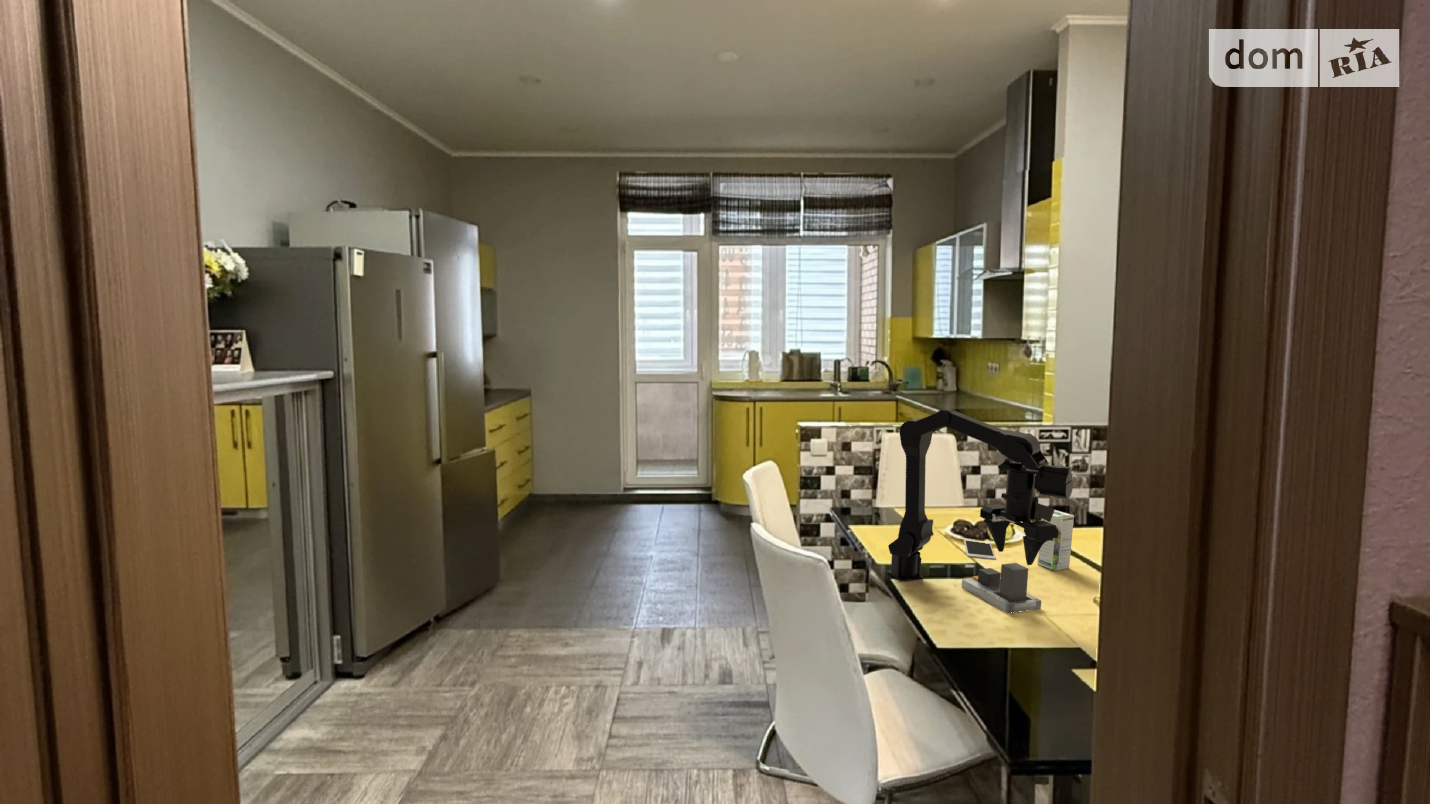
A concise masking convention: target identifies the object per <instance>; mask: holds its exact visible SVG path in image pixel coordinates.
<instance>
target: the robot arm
mask: <svg viewBox="0 0 1430 804" xmlns="http://www.w3.org/2000/svg"><path fill="white" fill-rule="evenodd" d="M944 428H948V429H950V430H952V431H954V432H958V433H960V434H963V435H965V436H967V437H970V438H973V439H975V440H977V441H979V442H982V443H984V444H986V445H988V446H989V445H990V446H991V447H992V448H994V449H995V450H996V451H997V452H999V454H1001V455H1002V456H1004V457H1006V459H1005V460H1004V461H1003V462H1002V463H1000V464H998V465H997V469H1001V470H1007V475H1006V485H1005V487H1006V488H1005V492H1003V493H1001V499H1005V503H1004V505H1003V504H1001V503H993V504H983V506H982V507H981V508H980V513H979V518H981V519H983V522H984V523H985V525H986V526H987V528H988V530H989V533H990V534H991V537H992V539H993V541H994V544H995V547H996V549H997V551H998V552H999V553H1002V552H1004V550H1005V545H1006V544H1005V543H1006V537H1007V529H1008V527H1009V526H1010V525H1011V524H1013V525H1015V526H1017V527H1020V528H1023V532H1024V535H1022V541H1023V542H1022V543H1023V548H1024V556H1025V557H1024V558H1025V561H1026V565H1027V566H1032V565H1033V563H1034V562H1035V560H1036V558H1037V557H1038V553H1039V550H1040V548H1041V547H1042V545H1043V544H1044V543H1045V542H1046V541H1050V540H1052V539H1054V538H1058V528H1057V526H1056V525H1054V524H1051V523H1048V522H1050V521H1051V519H1052V516H1053V513H1054V511H1055V510H1056V509H1055V508H1053V507H1050V506H1046V505H1044V504H1041V503H1039V497H1038V496H1036V495H1034V492H1035V489H1036V492H1038V493H1039V494H1040V495H1042V496H1050V497H1055V498H1061V499H1066V500H1069V499H1070V497H1071V496H1072V493H1073V488H1074V480H1073V473H1072V467H1071V466H1065V465H1064V466H1059V465H1053V464H1050V462H1049V461H1048V459H1047V457H1046V456H1045V455H1044V453H1043V451H1042V450H1041V445H1040V442H1039V440H1038V438H1037V437H1036V436H1035V435H1033V434H1031V433H1027V432H1026V433H1025V432H1021V431H1016V430H1009V429H1003V428H1000V427H997V426H994V425H991V424H989V423H986V422H984V421H981V420H979V419H976V418H974V417H972V416H969V415H967V414H965V413H962V412H961V413H960V411H956V410H955V409H954V408H951V407H948V408H944V409H940V410H938V411H937V412H935V413H933V414H931V415H928V416H926V417H919V418H915V419H914V418H913V419H910V420H907V421H904V422H903V423H902V424H901V425H900V427H899V431H898V432H899V437H900V438H899V439H900V440H899V441H900V445H901V448H902V449H903V452H904V454H905V492H904V493H905V499H904V500H905V502H904V503H905V504H904V505H905V509H904V511H905V512H904V514H903V517H902V520H901V522H900V525H899V529H898V535H897V538H896V539H895V540H893V541H892V542H890V543H889V544H888V545H887V547H888V551H889V553H890V555H891V565H890V569H888V570H886V571H887V574H889V575H890V576H892V577H894V578H896V579H897V580H899V581H903V582H904V581H912V580H921V579H923V578H924V577H923V576H924V575H921V570H922V569H921V568H922V557H921V552H920V551H922V550H923V548H924V546H926V545H927V544H928V543H929V542H930V540H931V539H932V536H934V535H935V534H934V532H933V531H934V530H933V526H934V519H932V518H931V519H929V518H928V516H927V514H926V510H925V509H926V462H927V461H926V459H927V453H928V451H929V448H930V446H931V443H932V437H933V433H935V432H938V431H940V430H942V429H944ZM1041 518H1042V519H1045V520H1047V521H1048V522H1046V521H1041ZM1039 520H1040V521H1039Z"/></svg>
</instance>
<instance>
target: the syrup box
mask: <svg viewBox="0 0 1430 804" xmlns="http://www.w3.org/2000/svg"><path fill="white" fill-rule="evenodd" d="M1074 518H1075V514H1070V513H1067V512H1063V511H1060V510H1058V509H1057V510H1056V509H1055V511H1054V513H1053V516H1052V519H1051V521H1050V522H1048V521H1047V520H1045V519H1042V518H1041V519H1040V521H1046V522H1048V523H1051V524H1054V525H1056V526H1057V528H1058V538H1054V539H1052V540H1050V541H1046V542H1045V543H1044V544H1043V545H1042V547H1041V548H1040V550H1039V552H1038V554H1037V565H1038V566H1042V567H1045V568H1046V569H1049V570H1051V571H1054V572H1057V571H1062V570H1066V569H1067V570H1068V569H1069V568H1070V562H1071V552H1072V542H1073V531H1074V530H1073V529H1074Z"/></svg>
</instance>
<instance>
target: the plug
mask: <svg viewBox="0 0 1430 804" xmlns="http://www.w3.org/2000/svg"><path fill="white" fill-rule="evenodd" d="M1000 565H1001V567H1000V573H1001V577H1000V593H999V596H1000V597H1002V598H1004V599H1005V600H1007V601H1009V602H1011V603H1012V602H1019V601H1026V594H1027V593H1028V590H1027V589H1028V579H1029V568H1028V567H1026V566H1023V565H1022V564H1020V563H1017V562H1010V563H1009V562H1008V563H1002V564H1000Z"/></svg>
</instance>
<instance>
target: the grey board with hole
mask: <svg viewBox="0 0 1430 804" xmlns="http://www.w3.org/2000/svg"><path fill="white" fill-rule="evenodd" d="M977 572H978V573H977V575H974V576H972V577H969V578H963V579H961V588H962V589H964V590H966V591H968V592H970V593H971V594H972V595H975V596H977V597H978V596H979V597H978V598H980V599H981V598H982V599H981V600H984V602H987V603H989V604H990V603H991V604H990V605H992V604H993V605H992V606H993V607H995V608H997V607H998V608H997V609H999V610H1001V611H1002V610H1004V611H1005V612H1004V611H1003V612H1004V613H1006V612H1007V613H1006V614H1008V613H1010V614H1014V613H1013V612H1017V613H1020V612H1019V611H1024V612H1027V611H1026V610H1031V611H1037V610H1036V609H1038V610H1041V608H1042V600H1041V599H1039V598H1037V597H1035V596H1033V595H1032V594H1029V593H1028V592H1027V594H1026V601H1019V602H1012V603H1011V602H1009V601H1007V600H1005V599H1004V598H1002V597H1000V596H999V593H1000V579H1001V571H1000V572H999V571H998V570H996V569H994V568H991V567H989V568H987V567H986V568H980V569H978V571H977ZM1011 612H1012V613H1011Z"/></svg>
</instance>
